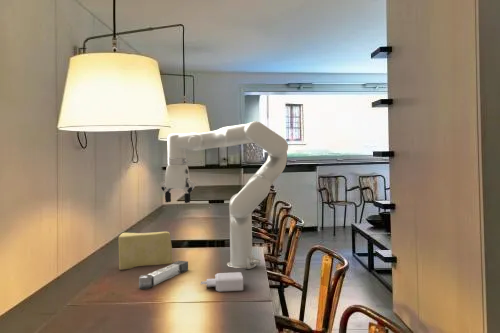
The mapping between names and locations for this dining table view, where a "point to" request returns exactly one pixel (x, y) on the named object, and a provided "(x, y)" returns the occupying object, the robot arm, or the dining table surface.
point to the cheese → (144, 249)
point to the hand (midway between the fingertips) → (177, 202)
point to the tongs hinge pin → (145, 281)
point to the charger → (226, 282)
